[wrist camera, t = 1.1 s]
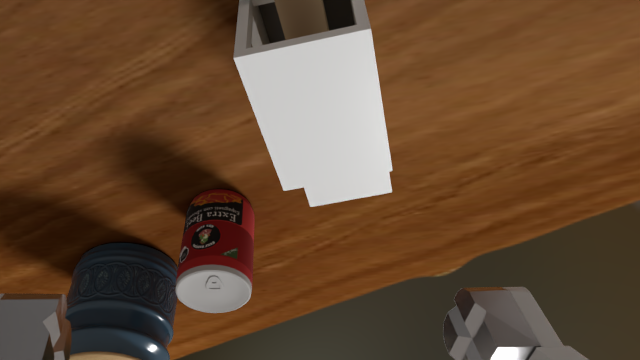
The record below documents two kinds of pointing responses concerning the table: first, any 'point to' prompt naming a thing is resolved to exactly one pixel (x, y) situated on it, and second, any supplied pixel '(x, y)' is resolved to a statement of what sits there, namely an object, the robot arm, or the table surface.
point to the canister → (122, 303)
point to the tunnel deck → (317, 101)
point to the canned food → (216, 252)
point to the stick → (301, 17)
